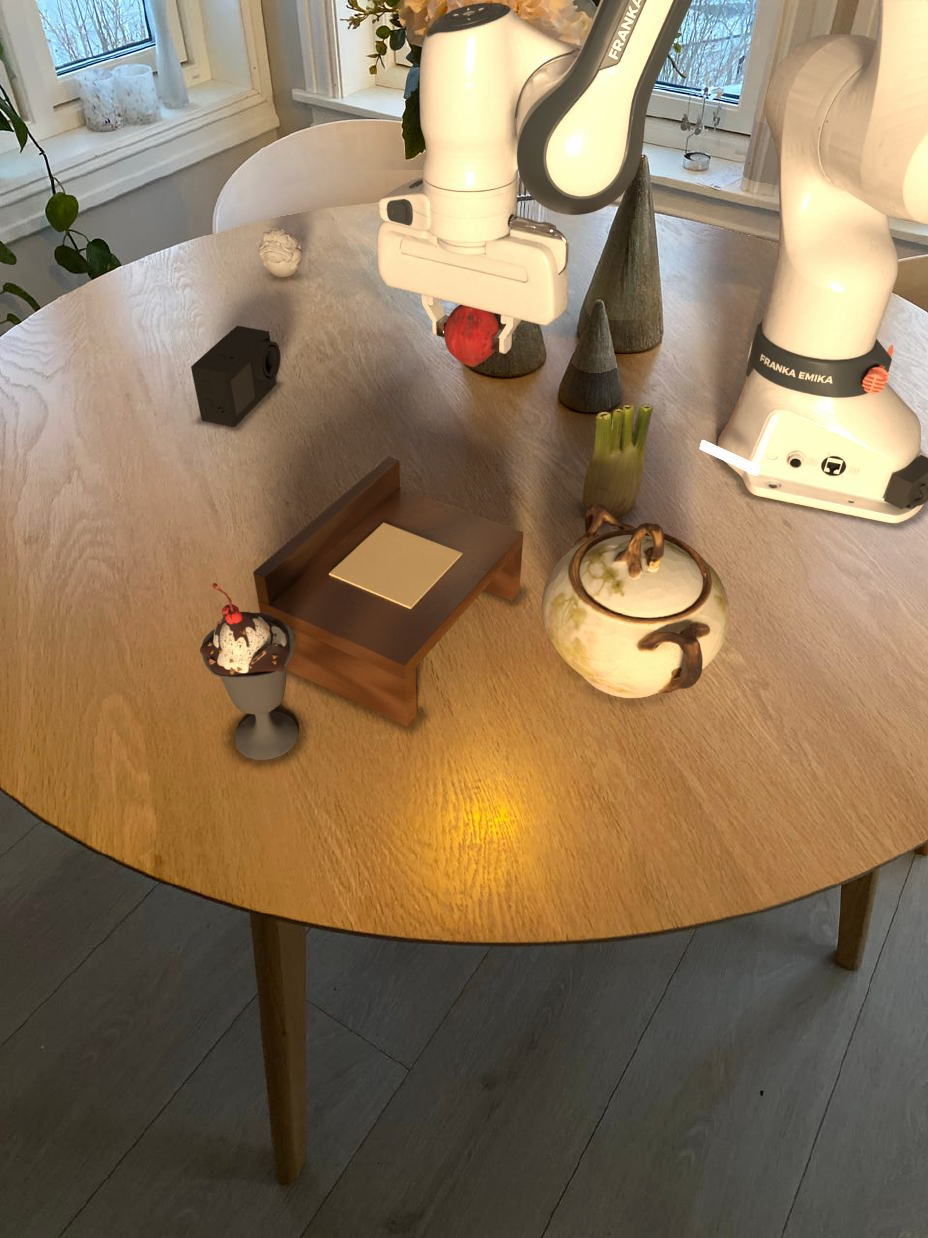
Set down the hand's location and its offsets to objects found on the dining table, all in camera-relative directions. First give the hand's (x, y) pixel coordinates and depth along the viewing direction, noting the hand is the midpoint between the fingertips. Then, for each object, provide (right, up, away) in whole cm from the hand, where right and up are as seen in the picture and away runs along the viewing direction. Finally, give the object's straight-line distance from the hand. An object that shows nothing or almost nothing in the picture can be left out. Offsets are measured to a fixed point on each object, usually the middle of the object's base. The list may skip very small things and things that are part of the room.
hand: (471, 342), depth 100 cm
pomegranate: (0, -2, +2) cm, 3 cm away
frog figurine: (-27, +20, +37) cm, 50 cm away
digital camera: (-26, -4, +12) cm, 29 cm away
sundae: (-16, -38, -25) cm, 48 cm away
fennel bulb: (+14, -18, -3) cm, 23 cm away
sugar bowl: (+13, -33, -18) cm, 40 cm away
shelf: (-7, -29, -15) cm, 34 cm away
